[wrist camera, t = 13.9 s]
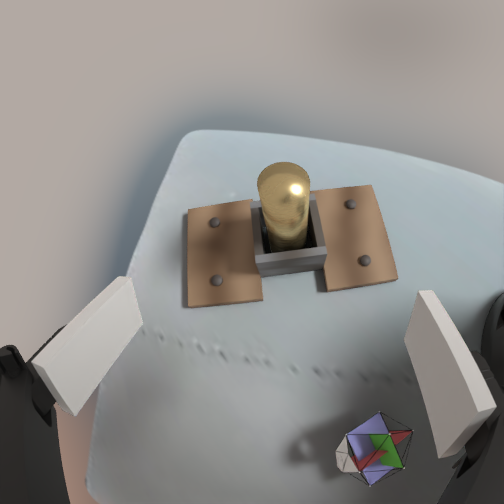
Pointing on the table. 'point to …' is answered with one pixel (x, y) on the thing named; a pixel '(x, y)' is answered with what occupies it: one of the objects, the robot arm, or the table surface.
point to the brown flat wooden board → (263, 265)
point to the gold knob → (285, 205)
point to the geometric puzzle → (371, 449)
